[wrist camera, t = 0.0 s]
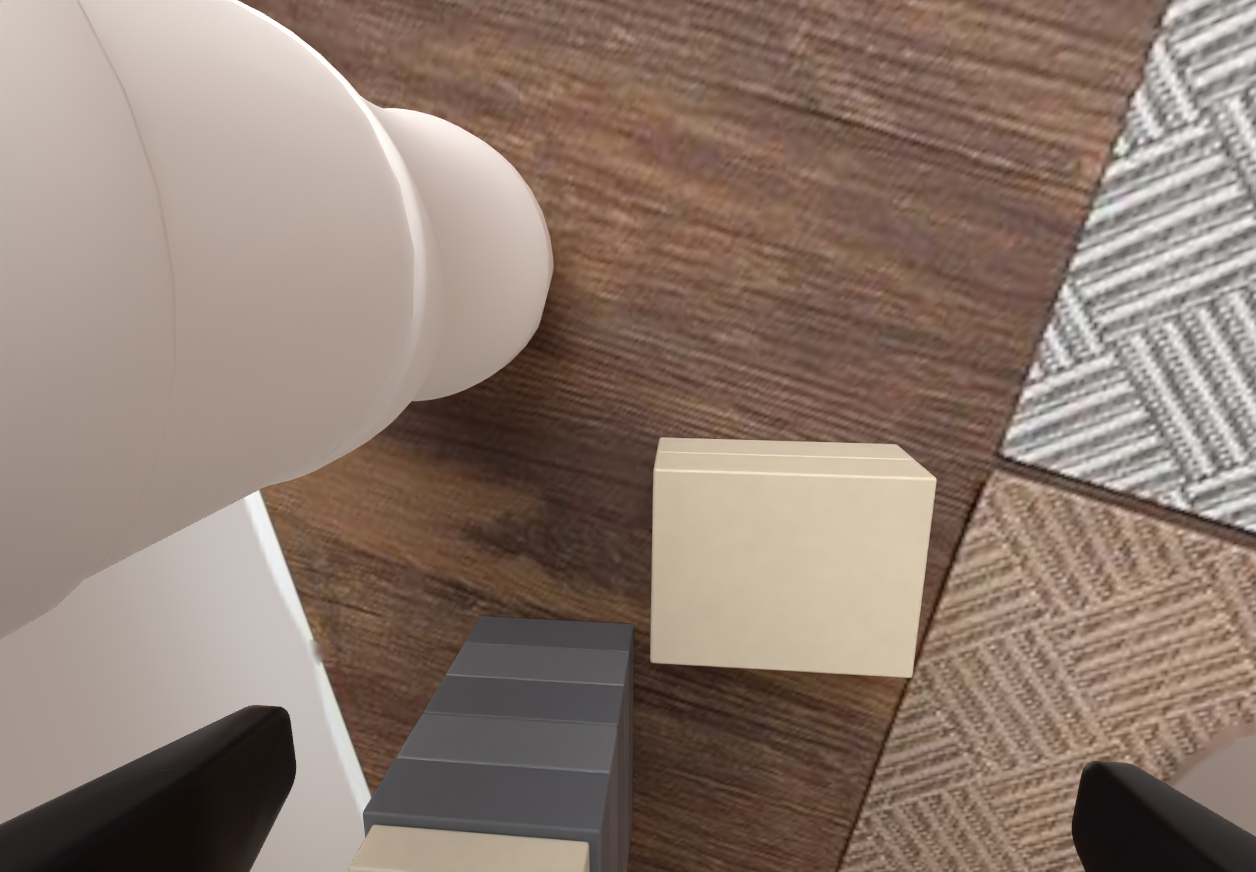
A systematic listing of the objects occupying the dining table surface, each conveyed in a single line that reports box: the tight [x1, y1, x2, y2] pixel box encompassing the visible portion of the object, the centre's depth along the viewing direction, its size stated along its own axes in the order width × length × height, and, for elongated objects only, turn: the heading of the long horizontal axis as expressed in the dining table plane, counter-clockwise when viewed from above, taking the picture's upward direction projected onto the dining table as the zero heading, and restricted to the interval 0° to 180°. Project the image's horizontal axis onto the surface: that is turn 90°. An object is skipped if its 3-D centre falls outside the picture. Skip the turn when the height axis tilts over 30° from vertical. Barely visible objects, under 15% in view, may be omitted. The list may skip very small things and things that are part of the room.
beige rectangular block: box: [650, 438, 937, 678], centre depth 21 cm, size 6×8×4 cm
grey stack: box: [363, 616, 634, 872], centre depth 20 cm, size 8×6×9 cm, turn 0°
